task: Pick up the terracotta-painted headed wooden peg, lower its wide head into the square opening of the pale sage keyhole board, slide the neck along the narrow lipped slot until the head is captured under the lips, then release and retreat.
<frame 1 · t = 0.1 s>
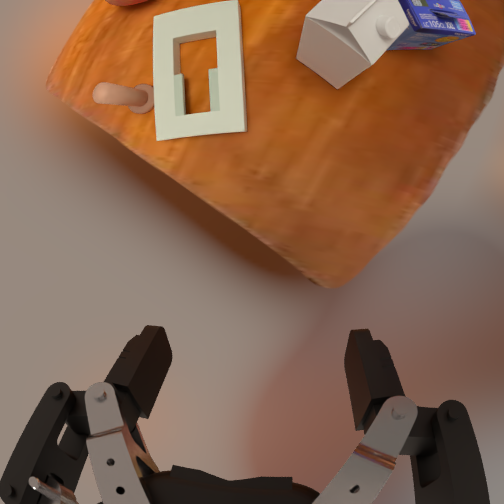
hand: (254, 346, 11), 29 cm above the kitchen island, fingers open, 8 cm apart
ink cartridge box: (403, 36, 25), on the kitchen island
milk carton: (331, 58, 28), on the kitchen island
headed peg: (144, 99, 33), on the kitchen island
keyhole board: (200, 69, 31), on the kitchen island
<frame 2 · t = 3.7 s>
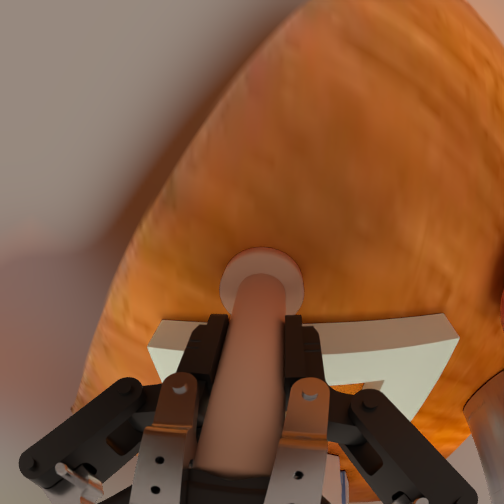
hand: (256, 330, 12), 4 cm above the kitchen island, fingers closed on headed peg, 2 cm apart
ink cartridge box: (330, 478, 31), on the kitchen island
milk carton: (300, 457, 26), on the kitchen island
headed peg: (262, 283, 16), on the kitchen island, touching gripper
keyhole board: (305, 381, 19), on the kitchen island
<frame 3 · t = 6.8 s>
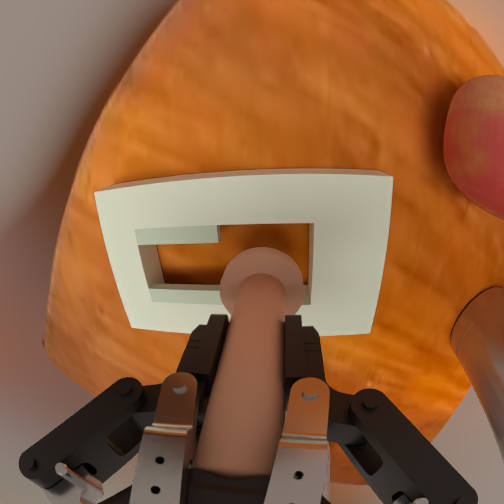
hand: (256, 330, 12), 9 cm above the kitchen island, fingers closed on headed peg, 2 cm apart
apple: (462, 142, 15), on the kitchen island
headed peg: (262, 283, 16), point 5 cm above the kitchen island, touching gripper
keyhole board: (242, 250, 20), on the kitchen island
when the fingers open (5 cm above the kitchen island, at t = 10.2 s): headed peg stays where it is, resting in keyhole board.
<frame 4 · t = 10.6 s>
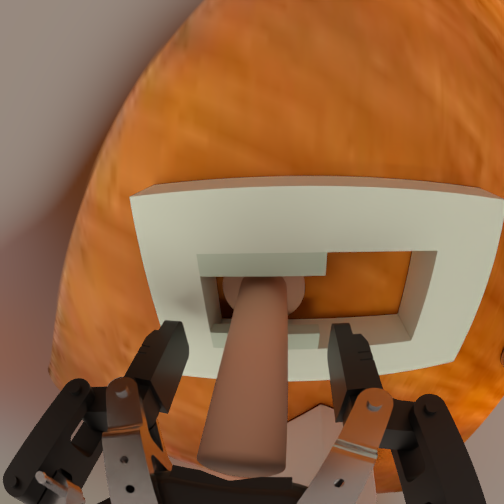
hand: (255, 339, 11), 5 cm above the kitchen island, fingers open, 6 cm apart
milk carton: (318, 424, 23), on the kitchen island
headed peg: (264, 279, 16), resting in keyhole board
keyhole board: (333, 278, 16), on the kitchen island
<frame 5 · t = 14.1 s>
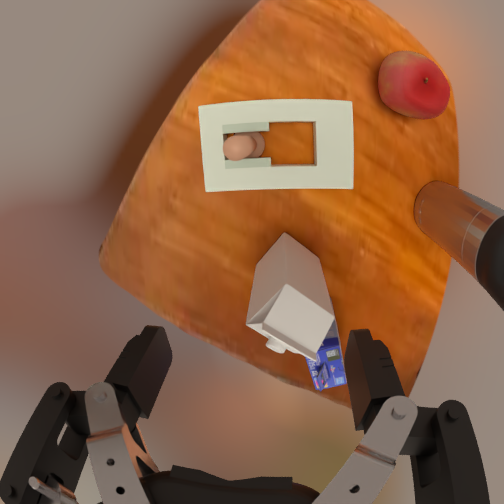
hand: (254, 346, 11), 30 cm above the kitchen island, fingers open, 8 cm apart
ink cartridge box: (320, 319, 47), on the kitchen island
apple: (395, 90, 30), on the kitchen island
milk carton: (287, 260, 43), on the kitchen island
headed peg: (248, 144, 36), resting in keyhole board
keyhole board: (277, 143, 35), on the kitchen island
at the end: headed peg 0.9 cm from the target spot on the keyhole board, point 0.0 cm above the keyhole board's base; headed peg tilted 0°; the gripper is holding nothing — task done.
